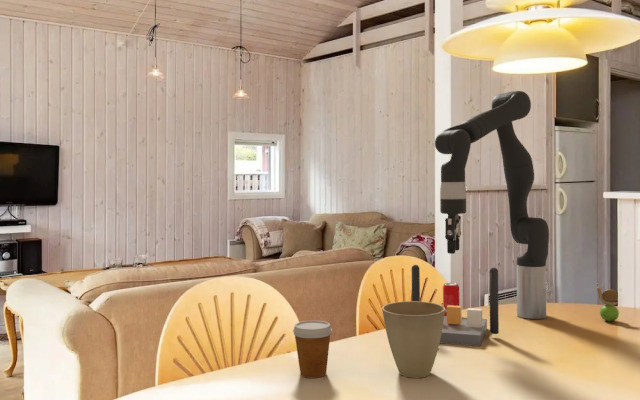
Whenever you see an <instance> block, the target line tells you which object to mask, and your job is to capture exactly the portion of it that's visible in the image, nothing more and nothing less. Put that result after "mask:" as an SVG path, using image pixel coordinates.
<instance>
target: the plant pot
mask: <svg viewBox="0 0 640 400" xmlns="http://www.w3.org/2000/svg"><path fill="white" fill-rule="evenodd" d="M381 310H382V316H383V323H384V327H385V332H386V336H387V340H388V345H389V349H390V351H391V355H392V357H393V359H394V362H395V365H396V367H397V371H398V373H399V374H400V375H401V376H403V377H406V378H411V379H412V378H413V379H420V378H425V377H429V376H430V375H431V372H432V369H433V366H434V365H435V361H436V358H437V353H438V351H439V347H440V344H441V343H440V339H441V334H442V328H443V321H444V313H445V308H444V307H443V305H441V304H438V303H435V302H428V301H421V300H420V301H412V300H411V301H410V300H405V301H395V302H391V303H390V302H389V303H387V304H384V305H383V306H382V309H381Z"/></svg>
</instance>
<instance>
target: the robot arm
mask: <svg viewBox="0 0 640 400" xmlns="http://www.w3.org/2000/svg"><path fill="white" fill-rule="evenodd" d="M531 106H532V102H531V99H530V96H529V95H528V93H527V92H525V91H522V90H514V91H508V92H504V93H499V94H496V95H494V97H493V99H492V100H491V109H489V110H485V111H483V112H480V113H478V114H476V115H474V116H471V117H470V118H468V119H467V120H465V121H463V122H461V123H459V124H457V125H455V126H451V127H449V128H447V129H444V130H442V131H440V132H439V133H438V134H437V136H436V137H435V140H434V147H435V150H437V152H438V153H441V154H442V155H451V156H450V159H449V161H447V162H445V163H443V164H441V167H440V189H439V190H440V191H439V193H440V194H439V199H440V200H439V203H440V205H439V207H440V208H439V210H440V214H443V215H445V214H446V215H447V217H446V218H445V219H444V221H445V233H444V235H445V236H444V238H445V239H446V243H447V245H446V247H447V248H446V249H447V254H449V255H450V254H455V253H456V251H460V238H461V235H462V227H461V226H462V217H461V214H463V215H464V214H466V213H467V188H466V187H467V186H466V166H467V162H468V158H469V156H470V152H471V146H472V144H473V143H475V142H476V143H477V142H478V141H479V140H481V139H482V138H484V137H485V136H487V135H488V134H490V133H492V132H494V131H496V134H497V138H498V141H499V146H500V152H501V159H502V167H503V174H504V179H505V183H506V189H507V198H508V207H509V223H510V224H509V225H510V234H511V236H512V239H513V240H514V242H515V243H517V244H521V245H527V249H526V251H525V252H524V253H523V254H520V255H518V256H517V257H516V316H517V317H520V318H522V319H528V320H529V319H532V320H539V319H545V320H546V319H547V270H546V269H547V259H548V255H549V241H550V229H549V225H548V223H547V221H546V220H545V219H543V218H541V217H532V216H531V217H530V216H529V214H528V207H527V206H528V203H527V202H528V197H529V196H530V195H529V194H530V192H531V190H532V187H533V184H534V182H535V171H534V170H535V169H534V163H533V158H532V156H531V154H530V153H529V151H528V150H527V148H526V147H525V146H524V145H523V143H522V142H521V141H520V140H519V138H518V137H517V135H516V132H515V129H514V125H513V122H514V121H517V120H521V119H524V118H526V117H527V116H528V115H529V113H530V111H531V109H532V108H531Z"/></svg>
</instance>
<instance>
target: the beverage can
mask: <svg viewBox="0 0 640 400" xmlns="http://www.w3.org/2000/svg"><path fill="white" fill-rule="evenodd" d="M442 301H443V303H442V304H443V305H442V306H443V307H444V308H445V313H444V316H447V306H448V305H453V306H460V286H459V284H458V283H457V282H456V283H455V282H445V283H443V286H442Z"/></svg>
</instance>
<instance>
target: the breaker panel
mask: <svg viewBox="0 0 640 400" xmlns="http://www.w3.org/2000/svg"><path fill="white" fill-rule="evenodd" d="M466 313H467V316H466V317H462V323H461V324H447V316H444V321H443V328H442V334H441V339H440V343H439V344H449V345H450V344H452V345H461V346H462V345H463V346H473V347H474V346H475V347H480V346H481V344H482V343H483V340H484V337H485V334H486V332H487V329H488V318H483V308H473V307H471V308H470V307H468V308H467V310H466Z"/></svg>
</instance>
